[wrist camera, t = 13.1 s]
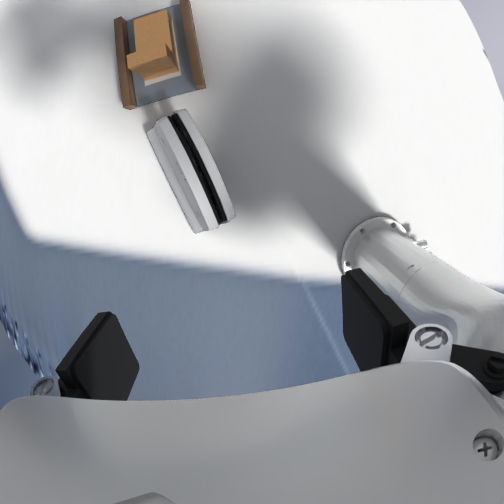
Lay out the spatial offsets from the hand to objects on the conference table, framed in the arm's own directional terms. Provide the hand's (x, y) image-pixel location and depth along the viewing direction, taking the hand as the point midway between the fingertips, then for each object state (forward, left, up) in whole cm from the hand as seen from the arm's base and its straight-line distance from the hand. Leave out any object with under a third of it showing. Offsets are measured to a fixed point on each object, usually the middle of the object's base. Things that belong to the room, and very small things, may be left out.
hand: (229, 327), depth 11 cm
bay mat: (+7, -25, -30) cm, 40 cm away
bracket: (+7, -26, -30) cm, 40 cm away
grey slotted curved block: (+5, -6, -31) cm, 32 cm away
